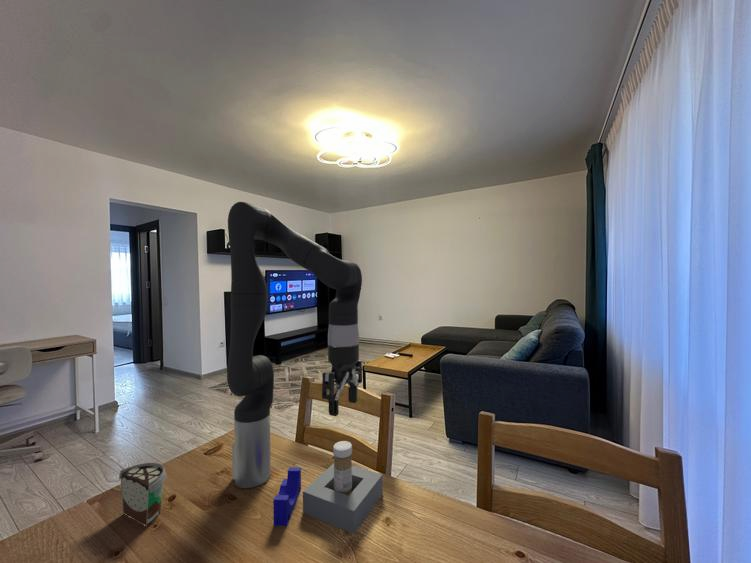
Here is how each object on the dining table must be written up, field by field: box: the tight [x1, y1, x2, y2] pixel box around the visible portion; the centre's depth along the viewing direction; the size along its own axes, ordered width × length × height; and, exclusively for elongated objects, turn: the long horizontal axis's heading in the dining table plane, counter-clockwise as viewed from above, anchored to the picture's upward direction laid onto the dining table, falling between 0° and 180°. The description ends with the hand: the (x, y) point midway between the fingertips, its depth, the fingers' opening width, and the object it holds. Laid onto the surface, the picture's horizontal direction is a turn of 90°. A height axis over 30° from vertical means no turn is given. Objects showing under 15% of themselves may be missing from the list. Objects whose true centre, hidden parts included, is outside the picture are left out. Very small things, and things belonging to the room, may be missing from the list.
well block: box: [302, 462, 384, 535], centre depth 76 cm, size 14×14×5 cm
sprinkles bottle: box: [332, 440, 353, 496], centre depth 76 cm, size 5×5×14 cm
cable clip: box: [273, 466, 302, 527], centre depth 75 cm, size 12×4×6 cm, turn 179°
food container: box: [118, 462, 168, 527], centre depth 74 cm, size 12×6×10 cm, turn 65°
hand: (343, 408), depth 76 cm, fingers open, 8 cm apart
